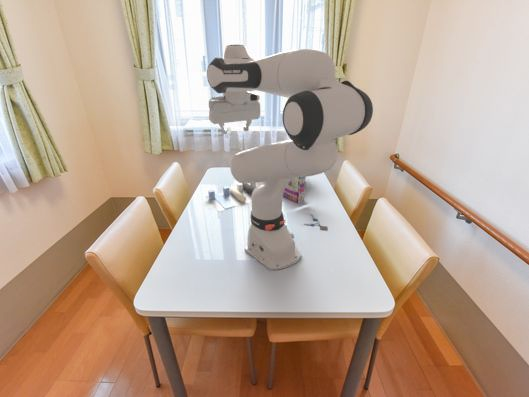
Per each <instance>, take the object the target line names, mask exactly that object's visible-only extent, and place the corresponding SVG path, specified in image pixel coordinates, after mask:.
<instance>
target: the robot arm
mask: <svg viewBox="0 0 529 397" xmlns="http://www.w3.org/2000/svg"><path fill="white" fill-rule="evenodd" d="M223 49H224V50H223V54H222V55H223V56H222V57H214V58H213V59H212V60H211V62H210V63H209V64H208V66H207V70H206V78H207V82H208V85H209V86H210V88H211V89H213V91H214V92H216V93H217V94H222V95H223V96H222V95H220V96H212V97H211V98H210V99H209V101H208V108H209V109H208V111H209V112H208V113H209V115H208V119H209V121H210V122H211V123H212V124H214V125H218V126H219V127H220V129H221V134H222V135H227V134H228V129H227V128H225V124H226V123H227V124H228V123H234V122H235V123H237V122H244V121H245V122H246V123H245V125H243V126H242V127H243V132H249V131H250V129H249V127H250V126H251V124H252V123H253V122H252V121H254V120H259V119H260V117H261V103H260V95H259V94H257V93H255V91H257V92H262V93H266V94H271V95H275V96H279V97H284V98H287V100H286V102H285V104H284V107H283V111H282V124H283V128H284V130H285V132H286V134H287V136H288V138H287V139H285V140H280V141H276V142H273V143H268V144H264V145H260V146H256V147H251V148H248V149H245V150H241V151H239V152H238V153H235V154H233V156H231V159H230V168H229V169H230V173H231V175H232V178H233V179H234V180H235V181H237V183H238V184H239V183H247V184H250V183H257V182H261V183H260V184H259V185H256V188H255V189H254V190H253V192H252V196H251V201H252V202H251V210H250V222H251V224H250V226H249V229H248V232H247V244H246V245H245V247H244V251H245V252H246V253H247V254H248V255H250V256H251V257H252V258H254V259H255V260H257V261H258V262H260V264H262V265H264V267H266V268H267V269H269V271H270V270H271V271H276V270H282V269H285V268H288V267H291V266H292V265H295V263H298V262H299V261H300V259H301V258H302V253H301V251H300V250H299V249H298V248H297V247H296V243H295V239H294V238H295V234H294V233H293V232H290V231H289V229H288V225H286V224H285V223H286V219H284V217H285V216H284V212H283V210H282V207H283V198H284V196H283V193H284V190H285V187H286V185H287V183H288V181H289V179H290V178H295V177H306V178H307V177H312V176H313V177H314V176H317V175H320V174H323V173H325V172H328V171H330V170H331V169H333V167H334V166H335V165H336V164H337V161H338V160H339V159H338V158H339V147H338V146H337V143H336V142H337V139H338V138H341V137H346V136H351V135H355V134H358V133H359V132H361V131H362V130H364V129H365V128H367V127H368V125H369V124H370V122H371V120H372V118H373V115H374V108H373V106H374V105H373V103H372V100H371V98H370V96H369V95H368V94H367V93H366V92H364V90H362V89H360V88H358V87H356V86H355V85H354V84H352V82H350V81H349V80H344V81H342V82H339V81H338V80H337V78H336V66H335V62H334V60H333V59H332V57H331V56H330V55H329V54H328V53H326V52H324V51H320V50H315V49H310V48H309V49H307V48H301V49H291V50H286V51H283V52H278V53H275V54H272V55H269V56H265V57H262V58H257V59H256V58H254V57H253V56H252V55H251V54H250V53H249V50H248V47H247V46H245V45H243V44H228V45H226V46H225V47H224V48H223Z"/></svg>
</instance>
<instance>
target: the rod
mask: <svg viewBox="0 0 529 397" xmlns="http://www.w3.org/2000/svg"><path fill="white" fill-rule="evenodd" d="M228 187H229V191H230V192H231V193H232V194H233V195H234V196H235V197H236V198H237V199H238V200H240V201H241V202H245V201H246V197H245V196H244V195H242V194H241V193H240V192H239V191H238V190H236V189H237V188H235V187H234V186H228Z"/></svg>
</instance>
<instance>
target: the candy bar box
mask: <svg viewBox="0 0 529 397" xmlns="http://www.w3.org/2000/svg"><path fill="white" fill-rule="evenodd" d="M306 178H307V177H295V178H290V179H289V181H288V183H287V185H286V187H285V190H284V193H283V198H286V199H288V200H290V201H292V202H293V203H296V204H299V203H301V202H304V201H305V200H304V199H305V187H306Z"/></svg>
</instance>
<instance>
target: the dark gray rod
mask: <svg viewBox="0 0 529 397" xmlns="http://www.w3.org/2000/svg"><path fill="white" fill-rule="evenodd" d="M242 184H243V189H244V190H246V191H247V192H248V193H249V194H251V195H252V192H253V190H254V188H253V187H251V186H250V183H242Z"/></svg>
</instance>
